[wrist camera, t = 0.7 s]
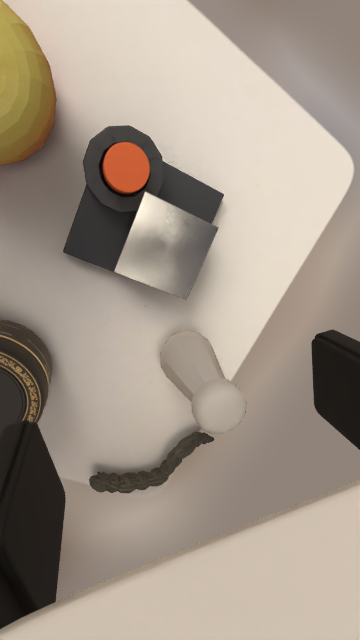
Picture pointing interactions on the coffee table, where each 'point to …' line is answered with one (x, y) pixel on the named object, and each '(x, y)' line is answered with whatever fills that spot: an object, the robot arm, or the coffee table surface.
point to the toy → (155, 476)
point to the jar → (22, 374)
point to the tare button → (126, 168)
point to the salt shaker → (203, 382)
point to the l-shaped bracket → (128, 198)
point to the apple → (23, 90)
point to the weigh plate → (165, 247)
